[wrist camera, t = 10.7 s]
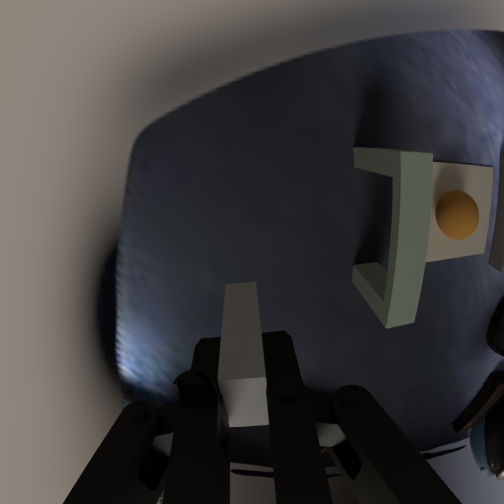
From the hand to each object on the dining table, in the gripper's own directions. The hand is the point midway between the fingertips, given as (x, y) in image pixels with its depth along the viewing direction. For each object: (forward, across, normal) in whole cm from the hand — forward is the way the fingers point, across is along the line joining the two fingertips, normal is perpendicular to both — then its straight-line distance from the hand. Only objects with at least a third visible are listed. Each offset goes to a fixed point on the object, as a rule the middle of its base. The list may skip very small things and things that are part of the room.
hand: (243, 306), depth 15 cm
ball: (+12, -24, 0) cm, 26 cm away
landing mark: (+14, -27, 0) cm, 31 cm away
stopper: (+14, -36, 0) cm, 39 cm away
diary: (+15, -60, +48) cm, 78 cm away
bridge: (+14, -13, 0) cm, 19 cm away
